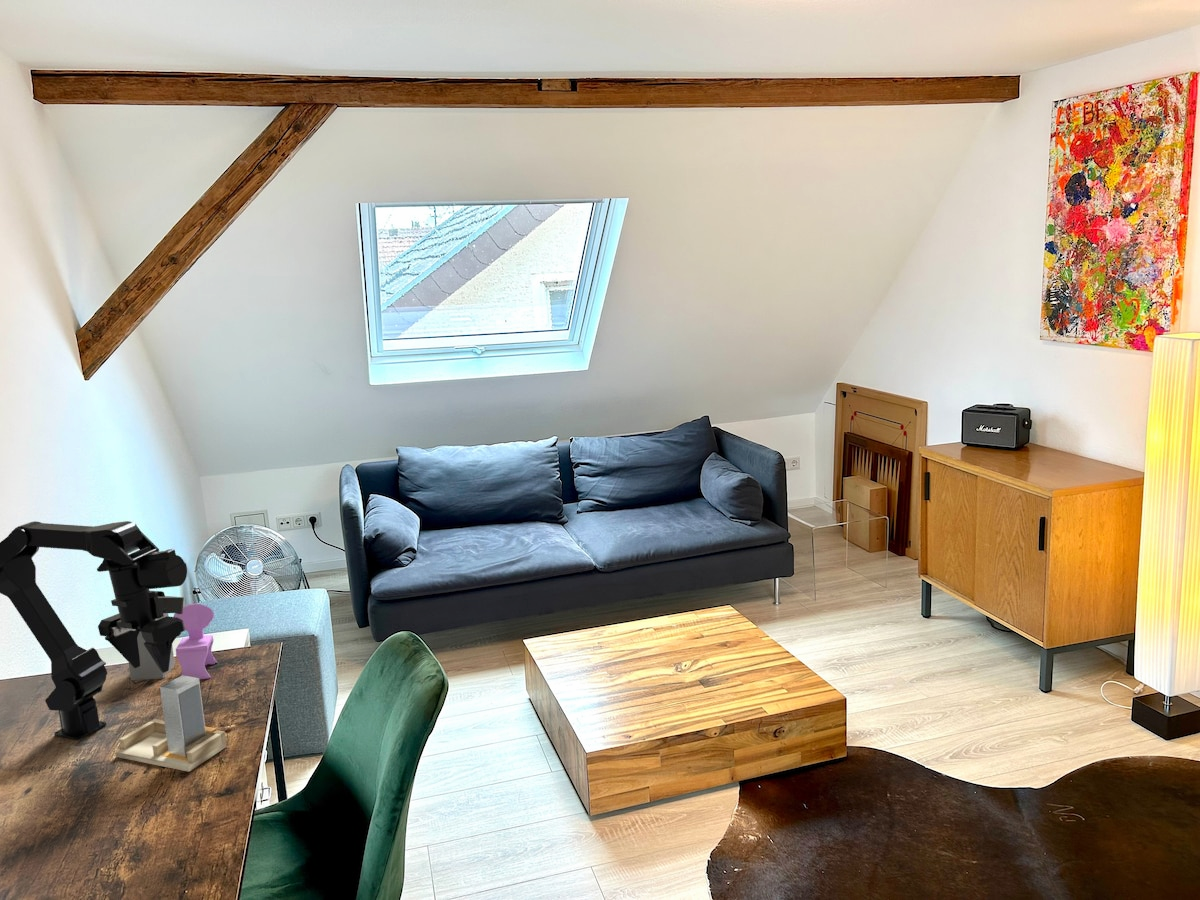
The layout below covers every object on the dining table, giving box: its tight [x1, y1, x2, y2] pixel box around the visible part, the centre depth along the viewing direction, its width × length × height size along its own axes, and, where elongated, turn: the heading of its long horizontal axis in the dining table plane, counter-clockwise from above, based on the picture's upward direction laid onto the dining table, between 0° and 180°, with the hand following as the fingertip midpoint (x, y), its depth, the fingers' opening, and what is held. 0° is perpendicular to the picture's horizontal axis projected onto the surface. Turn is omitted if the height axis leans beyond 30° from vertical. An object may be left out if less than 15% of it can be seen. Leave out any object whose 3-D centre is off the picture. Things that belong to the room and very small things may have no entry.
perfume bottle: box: [128, 613, 176, 681], centre depth 200 cm, size 7×7×18 cm
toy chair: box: [172, 603, 218, 680], centre depth 199 cm, size 8×9×15 cm
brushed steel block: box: [159, 675, 207, 758], centre depth 163 cm, size 4×5×13 cm
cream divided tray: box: [115, 718, 227, 772], centre depth 166 cm, size 9×17×3 cm, turn 69°
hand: (151, 669), depth 170 cm, fingers open, 9 cm apart
